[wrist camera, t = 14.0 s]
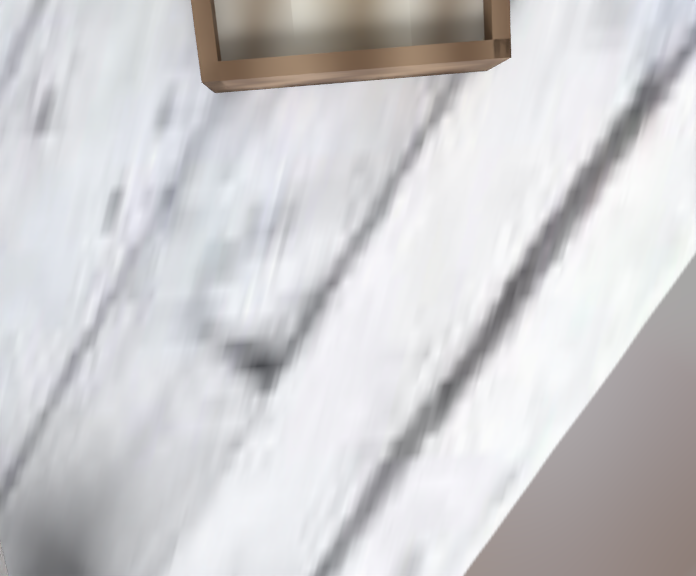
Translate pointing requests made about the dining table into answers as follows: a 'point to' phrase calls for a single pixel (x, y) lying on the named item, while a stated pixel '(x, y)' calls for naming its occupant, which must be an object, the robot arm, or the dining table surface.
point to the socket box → (345, 40)
